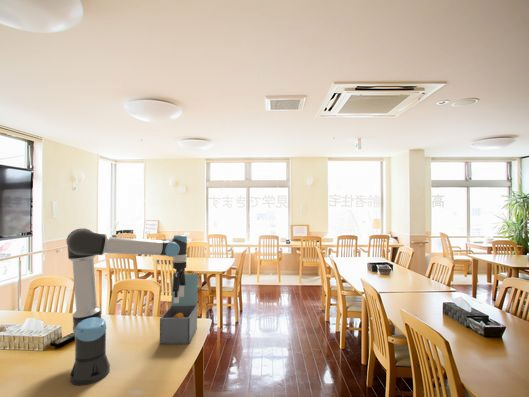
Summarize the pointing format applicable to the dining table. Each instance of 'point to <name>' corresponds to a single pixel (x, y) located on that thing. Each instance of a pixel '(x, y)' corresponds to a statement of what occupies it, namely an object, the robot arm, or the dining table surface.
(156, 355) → the dining table surface
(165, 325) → the box
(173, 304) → the lid
